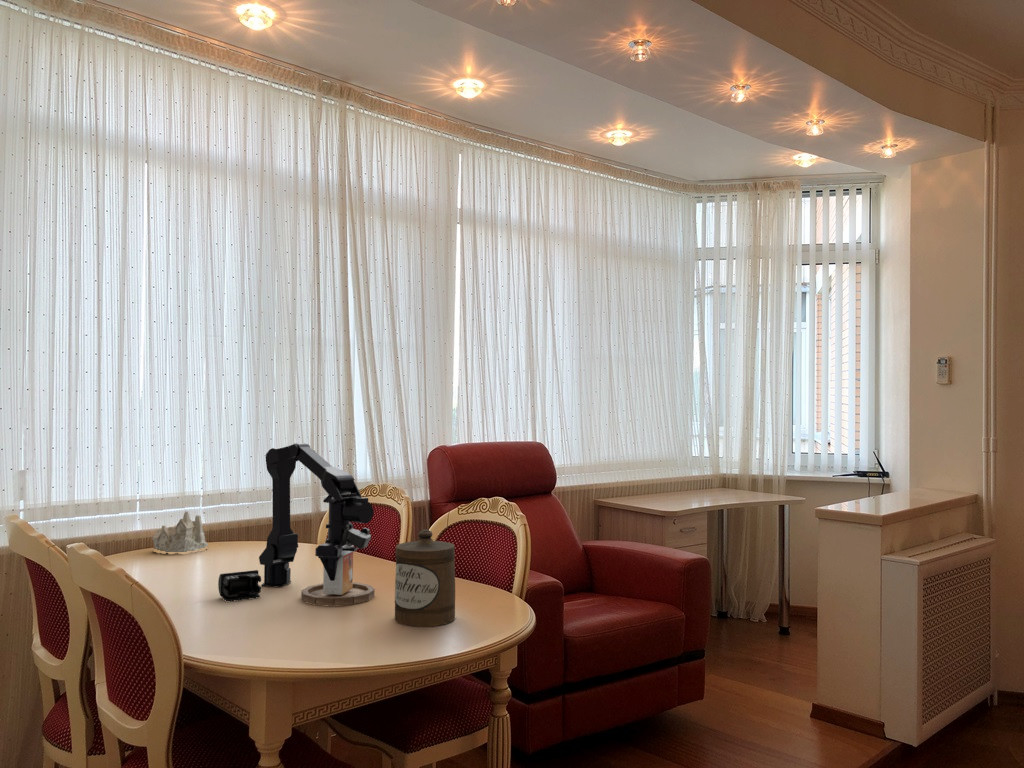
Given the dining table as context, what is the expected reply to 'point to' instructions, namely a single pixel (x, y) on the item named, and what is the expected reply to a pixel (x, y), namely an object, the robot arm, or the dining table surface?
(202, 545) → the miniature castle
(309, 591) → the round tray
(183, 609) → the dining table surface
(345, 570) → the small box
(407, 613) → the wooden container
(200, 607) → the dining table surface
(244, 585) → the end cap
